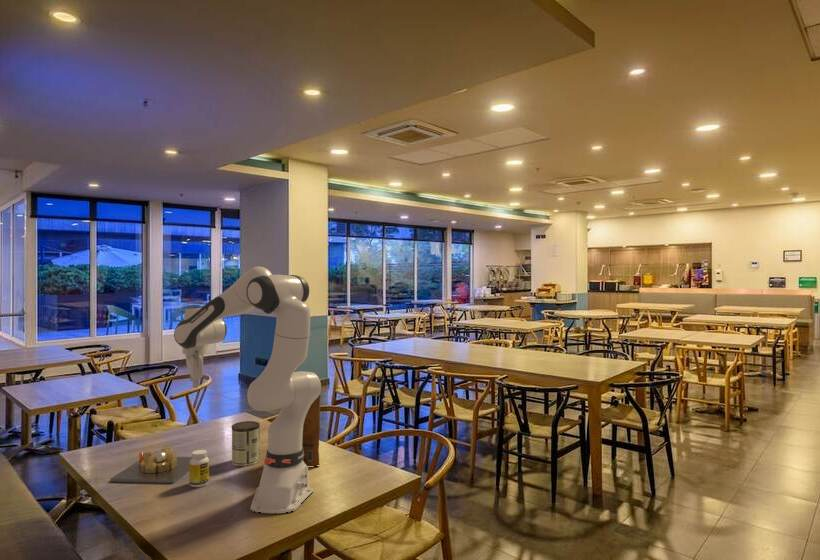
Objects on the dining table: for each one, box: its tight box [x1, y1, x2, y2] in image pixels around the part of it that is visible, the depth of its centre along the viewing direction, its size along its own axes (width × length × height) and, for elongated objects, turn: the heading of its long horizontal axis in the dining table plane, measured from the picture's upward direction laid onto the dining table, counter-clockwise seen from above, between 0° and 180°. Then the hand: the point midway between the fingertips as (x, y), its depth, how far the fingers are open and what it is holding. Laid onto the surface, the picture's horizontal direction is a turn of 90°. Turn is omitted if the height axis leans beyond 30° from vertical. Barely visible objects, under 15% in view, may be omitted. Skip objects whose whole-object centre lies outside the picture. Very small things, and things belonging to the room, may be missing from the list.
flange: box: [110, 450, 193, 485], centre depth 185 cm, size 22×22×6 cm
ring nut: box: [140, 445, 178, 473], centre depth 186 cm, size 14×12×5 cm
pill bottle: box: [188, 449, 210, 488], centre depth 173 cm, size 6×6×11 cm
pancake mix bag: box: [302, 394, 322, 466], centre depth 193 cm, size 7×19×28 cm, turn 57°
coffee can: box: [231, 420, 261, 467], centre depth 195 cm, size 10×10×14 cm
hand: (193, 383), depth 193 cm, fingers open, 8 cm apart
